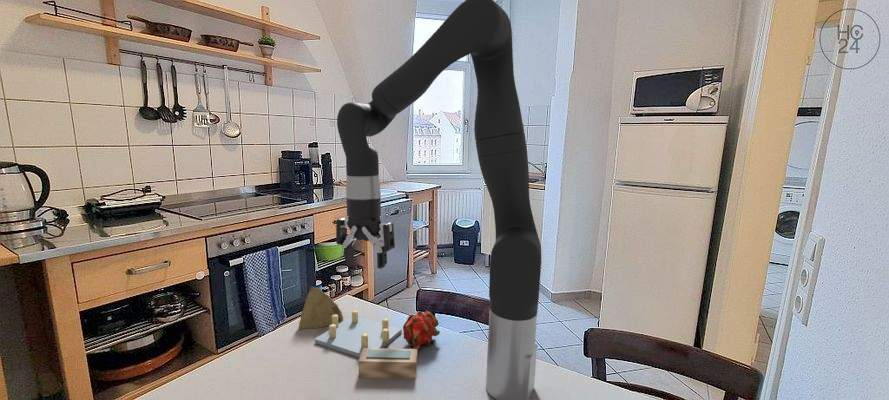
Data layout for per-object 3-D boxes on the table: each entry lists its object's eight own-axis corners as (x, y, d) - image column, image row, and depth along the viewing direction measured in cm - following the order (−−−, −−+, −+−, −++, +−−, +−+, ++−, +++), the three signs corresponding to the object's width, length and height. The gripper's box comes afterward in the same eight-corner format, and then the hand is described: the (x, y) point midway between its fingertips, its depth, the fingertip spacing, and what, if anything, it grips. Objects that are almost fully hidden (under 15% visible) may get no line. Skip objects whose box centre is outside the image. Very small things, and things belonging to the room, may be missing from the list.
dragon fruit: (432, 336, 100) (415, 368, 89) (407, 316, 101) (387, 345, 90) (450, 317, 97) (434, 348, 86) (424, 296, 97) (405, 324, 86)
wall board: (403, 333, 99) (403, 318, 98) (371, 361, 86) (371, 344, 85) (350, 318, 106) (350, 304, 105) (313, 342, 93) (312, 327, 93)
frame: (417, 365, 86) (417, 347, 85) (415, 379, 81) (415, 361, 80) (363, 364, 85) (363, 346, 85) (358, 378, 80) (358, 359, 80)
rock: (352, 308, 107) (320, 298, 109) (345, 292, 101) (312, 283, 103) (333, 344, 100) (300, 334, 102) (324, 331, 94) (289, 319, 96)
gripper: (326, 195, 84) (329, 266, 87) (381, 200, 79) (383, 274, 82) (347, 191, 91) (350, 256, 94) (399, 195, 86) (400, 264, 88)
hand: (365, 265), depth 88 cm, fingers open, 8 cm apart
